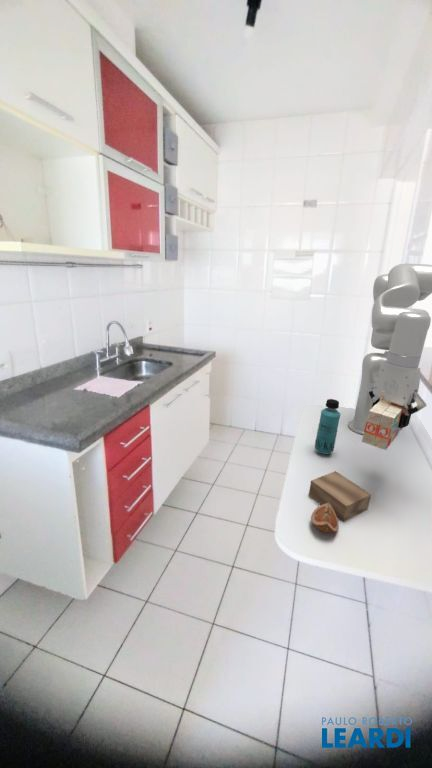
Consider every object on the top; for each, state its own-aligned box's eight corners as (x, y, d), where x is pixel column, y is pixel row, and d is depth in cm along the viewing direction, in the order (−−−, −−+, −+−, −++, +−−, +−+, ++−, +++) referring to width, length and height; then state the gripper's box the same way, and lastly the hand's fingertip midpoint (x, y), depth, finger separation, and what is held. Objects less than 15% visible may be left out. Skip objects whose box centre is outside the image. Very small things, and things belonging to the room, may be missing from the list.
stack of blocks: (386, 451, 86) (397, 406, 82) (361, 442, 90) (370, 399, 86) (405, 424, 102) (416, 385, 98) (383, 417, 106) (392, 380, 101)
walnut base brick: (332, 485, 102) (335, 471, 100) (367, 509, 93) (371, 494, 91) (308, 495, 97) (311, 480, 95) (342, 522, 88) (346, 506, 86)
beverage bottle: (314, 446, 123) (322, 395, 117) (333, 450, 121) (343, 398, 115) (312, 455, 118) (321, 402, 111) (333, 460, 116) (343, 405, 109)
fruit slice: (336, 544, 81) (340, 527, 79) (307, 535, 83) (310, 518, 81) (338, 521, 88) (341, 505, 86) (311, 513, 90) (314, 498, 88)
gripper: (365, 353, 94) (353, 411, 100) (429, 371, 80) (411, 437, 86) (381, 350, 98) (369, 407, 104) (445, 367, 84) (427, 431, 90)
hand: (388, 420), depth 95 cm, fingers closed on stack of blocks, 7 cm apart
